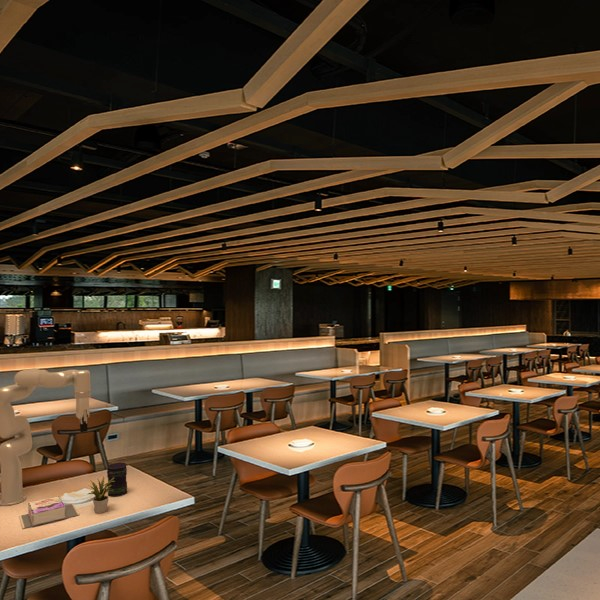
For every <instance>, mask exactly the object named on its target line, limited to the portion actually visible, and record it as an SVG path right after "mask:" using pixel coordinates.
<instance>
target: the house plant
mask: <svg viewBox="0 0 600 600" xmlns="http://www.w3.org/2000/svg"><path fill="white" fill-rule="evenodd" d="M113 479H114V478H113ZM111 480H112V479H111ZM111 480H110V481H109V482H108V481H107V482H106V483H105V477H104V476H103V477H102V480H101V481H100V480H99V478H97V482H98V483H97V484H98V485H97V484H96V483H95V482H93V481H92V480H89V482H90V483H91V484H92V485H88V486H89V487H90V488H91V489H92V490H91V491H90V492H88V493H87V495H94V498H93V499H92V502H93V506H94V508H93V509H94V512H95V514H104V513H106V512H107V511H108V505H109V504H108V503H109V496H108V495H106V493H108V491H112V490H109V489H111V488H109V487H110V485H109V483H110V482H114V481H113V480H112V481H111ZM108 485H109V487H108ZM113 492H114V491H113Z"/></svg>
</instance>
